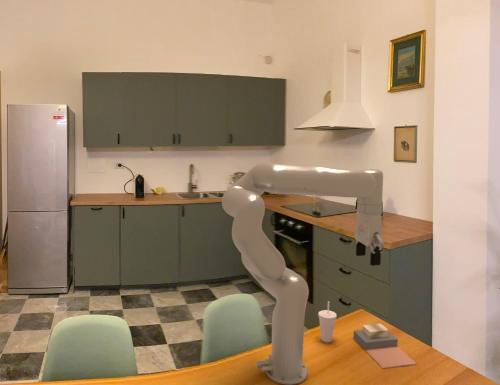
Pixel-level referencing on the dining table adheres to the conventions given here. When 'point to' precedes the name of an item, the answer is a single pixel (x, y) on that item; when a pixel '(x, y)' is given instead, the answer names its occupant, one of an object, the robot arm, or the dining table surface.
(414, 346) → the dining table surface
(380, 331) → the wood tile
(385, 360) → the mat
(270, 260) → the robot arm
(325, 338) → the smoothie
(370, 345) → the plate
